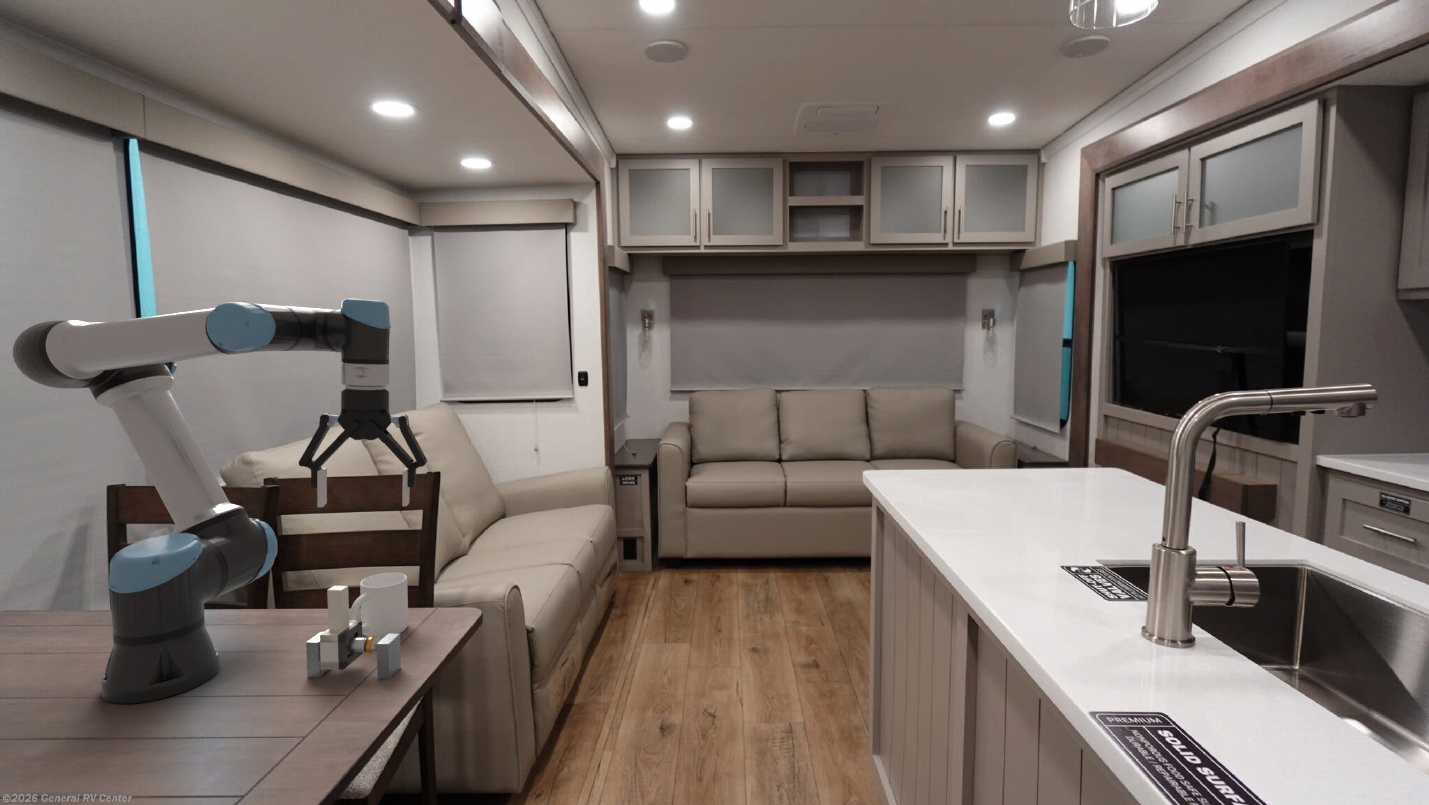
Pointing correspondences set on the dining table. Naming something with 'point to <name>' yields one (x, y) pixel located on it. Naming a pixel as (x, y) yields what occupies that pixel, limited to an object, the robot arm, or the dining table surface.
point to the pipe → (382, 646)
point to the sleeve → (338, 631)
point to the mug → (382, 605)
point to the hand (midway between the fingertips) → (364, 505)
